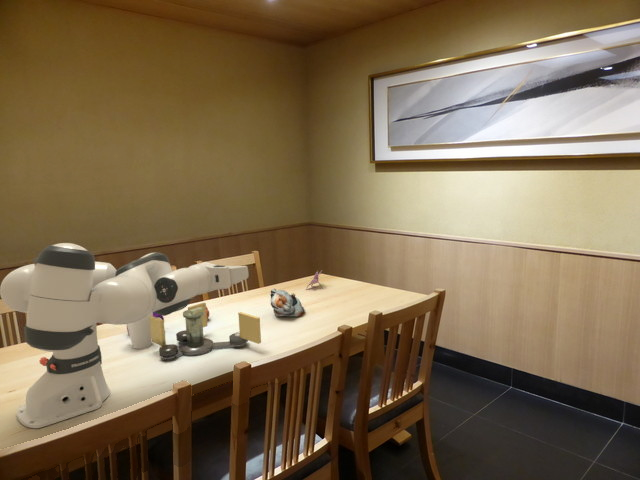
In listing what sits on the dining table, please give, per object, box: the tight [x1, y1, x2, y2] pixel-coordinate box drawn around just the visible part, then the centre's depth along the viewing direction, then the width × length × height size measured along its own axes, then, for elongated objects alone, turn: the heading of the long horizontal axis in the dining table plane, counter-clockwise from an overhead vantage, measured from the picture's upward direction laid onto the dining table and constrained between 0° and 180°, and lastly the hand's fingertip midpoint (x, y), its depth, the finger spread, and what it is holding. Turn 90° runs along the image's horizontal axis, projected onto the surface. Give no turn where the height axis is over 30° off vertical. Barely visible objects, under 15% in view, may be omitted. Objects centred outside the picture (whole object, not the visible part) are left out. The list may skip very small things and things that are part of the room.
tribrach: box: [149, 302, 246, 362], centre depth 159 cm, size 26×23×15 cm
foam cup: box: [126, 311, 153, 350], centre depth 164 cm, size 10×9×13 cm
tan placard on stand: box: [228, 311, 262, 345], centre depth 159 cm, size 6×14×11 cm, turn 50°
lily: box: [305, 270, 324, 290], centre depth 231 cm, size 12×12×10 cm
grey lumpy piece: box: [270, 288, 306, 318], centre depth 191 cm, size 15×12×14 cm
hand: (232, 268), depth 147 cm, fingers open, 8 cm apart
